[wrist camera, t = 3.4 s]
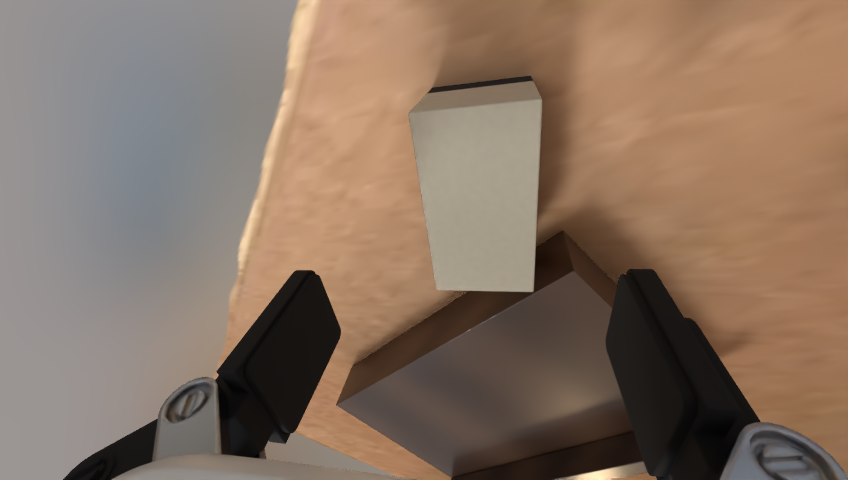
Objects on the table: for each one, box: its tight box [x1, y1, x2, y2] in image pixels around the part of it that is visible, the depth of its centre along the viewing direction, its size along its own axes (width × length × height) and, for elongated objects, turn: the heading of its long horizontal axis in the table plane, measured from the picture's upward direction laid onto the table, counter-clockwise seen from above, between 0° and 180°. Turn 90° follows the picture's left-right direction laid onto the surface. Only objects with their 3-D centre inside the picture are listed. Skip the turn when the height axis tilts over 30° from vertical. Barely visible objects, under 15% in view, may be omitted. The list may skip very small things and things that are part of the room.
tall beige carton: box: [409, 76, 542, 292], centre depth 17 cm, size 10×5×6 cm, turn 8°
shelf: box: [336, 231, 648, 480], centre depth 27 cm, size 24×16×6 cm, turn 138°
